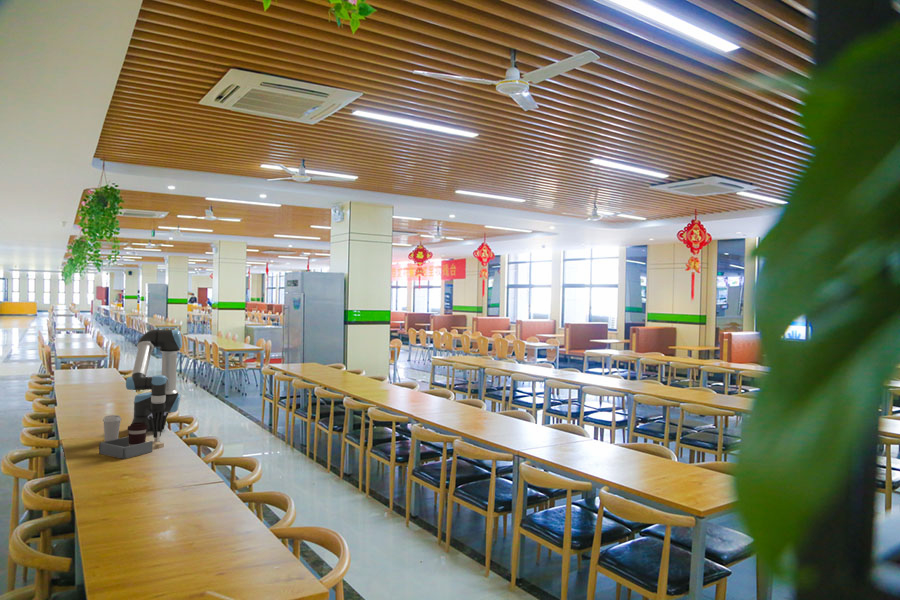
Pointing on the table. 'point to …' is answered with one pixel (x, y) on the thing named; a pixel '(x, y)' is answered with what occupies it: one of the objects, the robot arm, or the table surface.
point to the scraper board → (156, 445)
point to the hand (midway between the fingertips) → (156, 442)
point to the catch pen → (124, 448)
